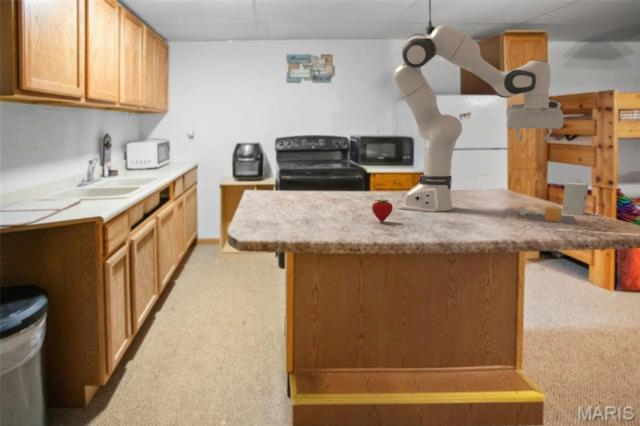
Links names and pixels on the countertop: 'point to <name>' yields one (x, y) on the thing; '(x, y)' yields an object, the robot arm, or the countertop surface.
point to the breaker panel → (540, 218)
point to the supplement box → (575, 198)
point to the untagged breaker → (522, 210)
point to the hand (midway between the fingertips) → (533, 140)
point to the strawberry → (382, 209)
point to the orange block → (552, 213)
